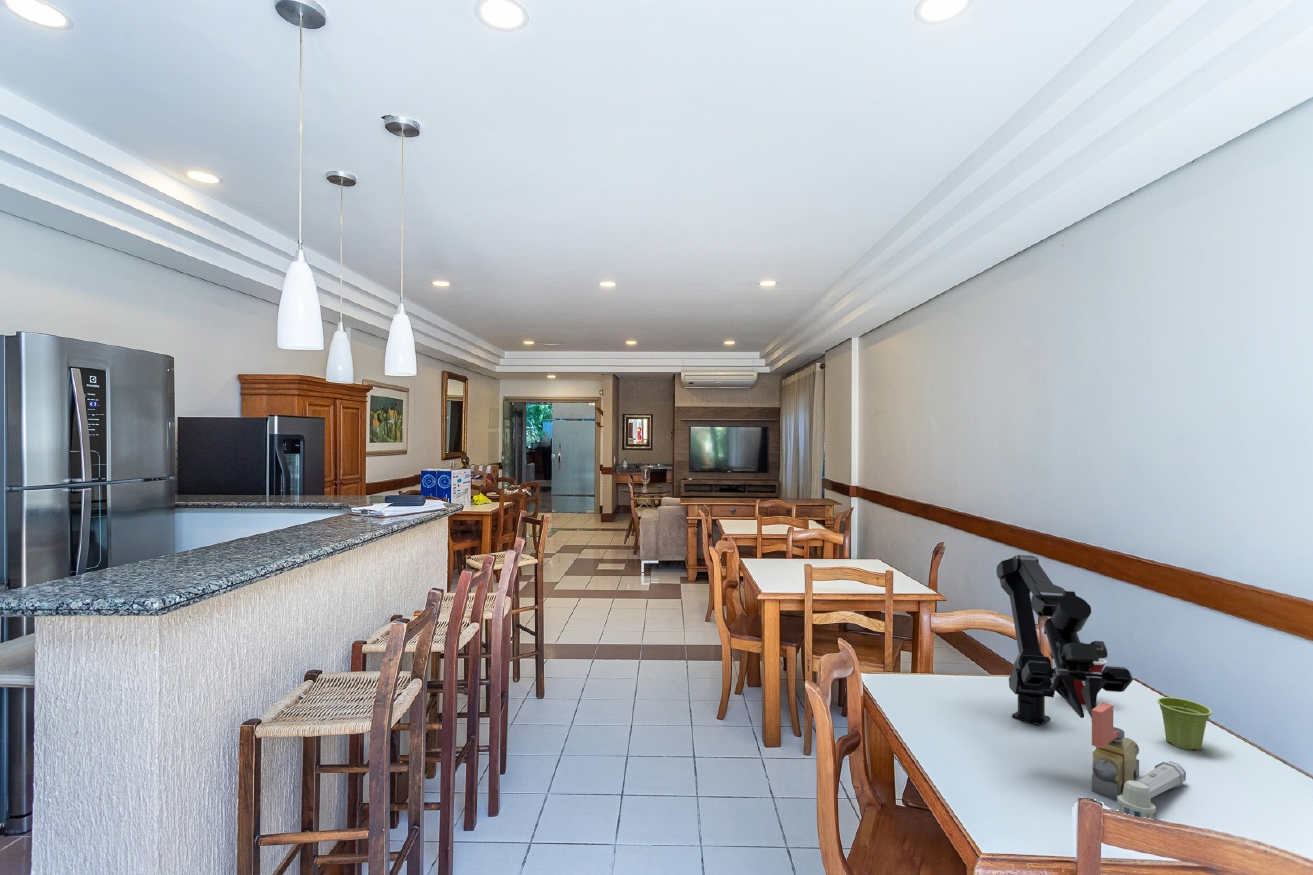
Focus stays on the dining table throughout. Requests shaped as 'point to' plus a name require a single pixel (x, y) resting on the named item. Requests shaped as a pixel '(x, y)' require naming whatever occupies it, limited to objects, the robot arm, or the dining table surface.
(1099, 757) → the valve
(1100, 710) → the lever
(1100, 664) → the plastic cup
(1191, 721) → the plant pot
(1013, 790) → the dining table surface
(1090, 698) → the robot arm
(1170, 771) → the white flashlight
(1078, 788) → the dining table surface
